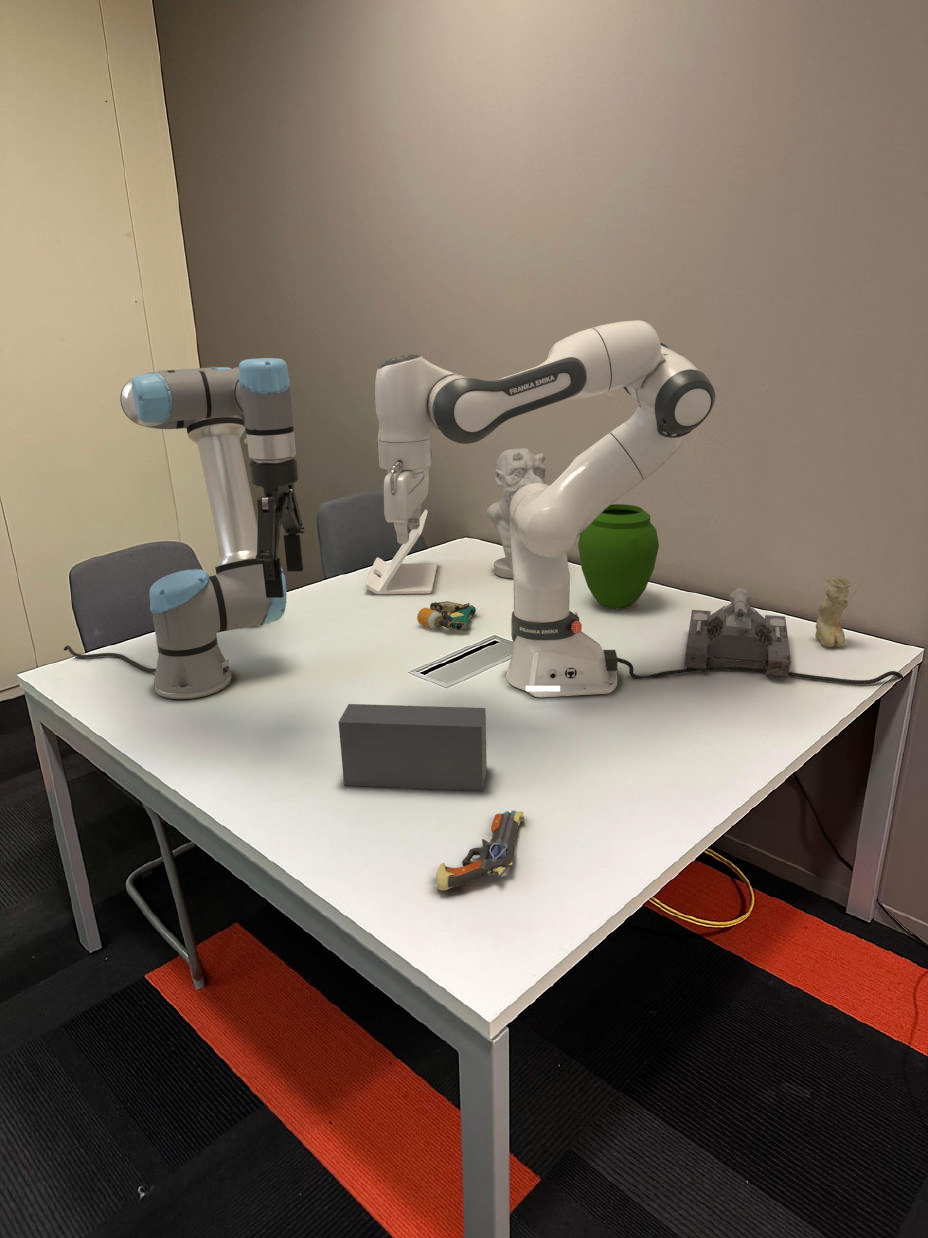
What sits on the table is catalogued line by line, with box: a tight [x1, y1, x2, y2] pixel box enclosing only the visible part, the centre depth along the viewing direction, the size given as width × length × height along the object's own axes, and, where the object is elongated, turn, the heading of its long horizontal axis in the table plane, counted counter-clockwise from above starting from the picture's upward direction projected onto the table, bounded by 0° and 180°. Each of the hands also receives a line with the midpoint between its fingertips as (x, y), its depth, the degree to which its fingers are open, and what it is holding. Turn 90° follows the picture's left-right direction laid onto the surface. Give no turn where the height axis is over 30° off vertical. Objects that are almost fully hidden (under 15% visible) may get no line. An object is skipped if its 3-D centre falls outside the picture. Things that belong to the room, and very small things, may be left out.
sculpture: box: [814, 576, 852, 648], centre depth 185 cm, size 6×7×15 cm
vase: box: [577, 503, 660, 610], centre depth 210 cm, size 20×20×24 cm
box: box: [338, 703, 488, 792], centre depth 138 cm, size 23×6×12 cm, turn 83°
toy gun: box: [435, 810, 525, 891], centre depth 120 cm, size 3×19×10 cm
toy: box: [684, 587, 792, 678], centre depth 180 cm, size 25×20×15 cm
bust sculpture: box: [485, 447, 547, 579], centre depth 231 cm, size 16×24×35 cm
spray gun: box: [416, 600, 477, 632], centre depth 206 cm, size 4×17×15 cm
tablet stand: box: [363, 508, 438, 595], centre depth 235 cm, size 18×25×17 cm
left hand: (285, 583), depth 145 cm, fingers open, 13 cm apart
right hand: (409, 535), depth 149 cm, fingers open, 8 cm apart
